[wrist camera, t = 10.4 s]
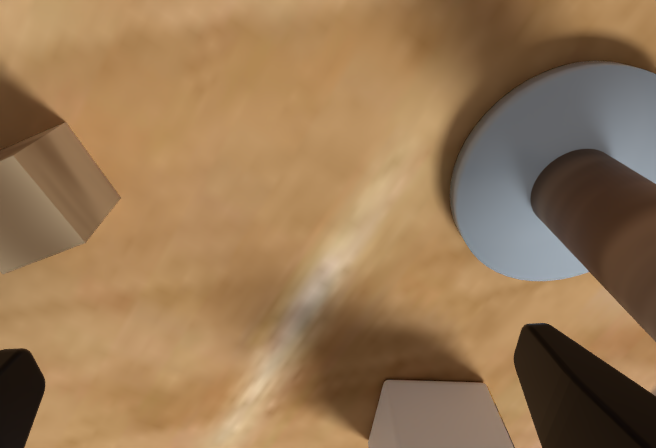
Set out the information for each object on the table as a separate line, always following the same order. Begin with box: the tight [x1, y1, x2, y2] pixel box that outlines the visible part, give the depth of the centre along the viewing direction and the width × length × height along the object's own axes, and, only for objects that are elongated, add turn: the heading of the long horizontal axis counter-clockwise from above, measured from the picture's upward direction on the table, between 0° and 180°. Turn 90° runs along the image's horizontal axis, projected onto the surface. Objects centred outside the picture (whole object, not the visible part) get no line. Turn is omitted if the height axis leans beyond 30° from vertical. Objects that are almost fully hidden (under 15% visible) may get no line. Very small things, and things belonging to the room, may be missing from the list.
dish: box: [450, 61, 656, 281], centre depth 20 cm, size 11×11×1 cm
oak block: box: [0, 122, 121, 274], centre depth 18 cm, size 4×4×4 cm
